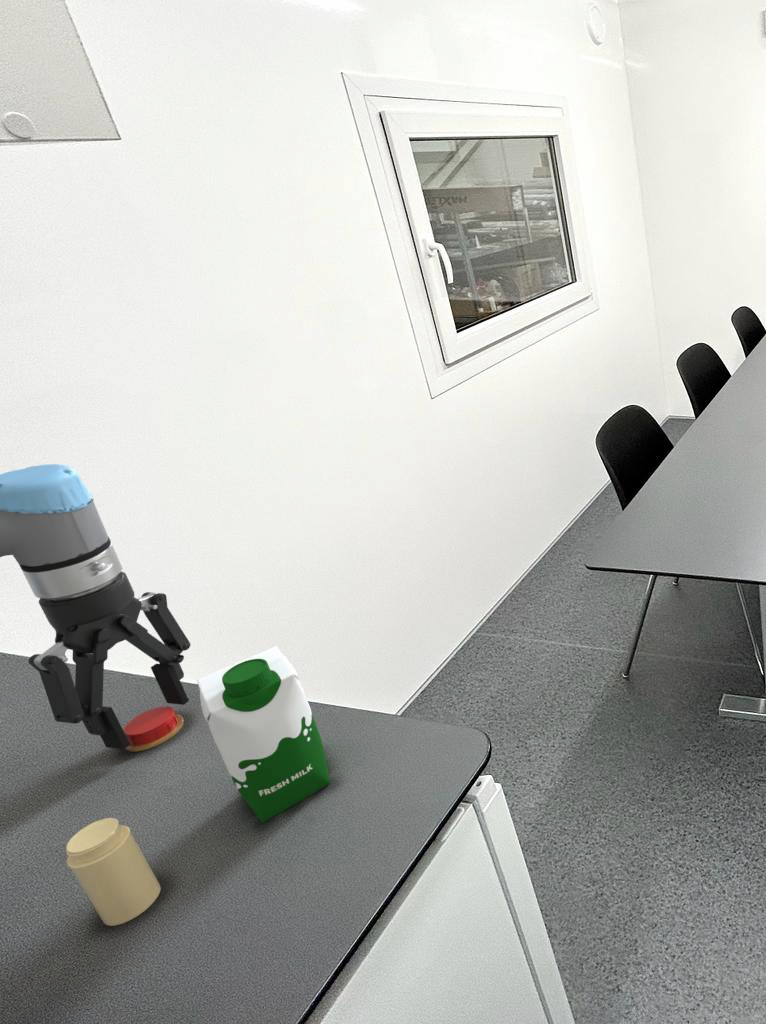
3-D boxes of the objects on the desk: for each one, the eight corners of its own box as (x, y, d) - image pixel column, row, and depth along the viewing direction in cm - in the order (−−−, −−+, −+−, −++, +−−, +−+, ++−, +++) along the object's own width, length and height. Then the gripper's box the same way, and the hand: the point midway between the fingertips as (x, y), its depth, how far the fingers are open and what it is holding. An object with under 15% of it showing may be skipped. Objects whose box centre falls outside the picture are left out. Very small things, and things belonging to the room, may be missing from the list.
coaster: (111, 752, 84) (109, 750, 84) (151, 717, 89) (150, 714, 89) (158, 750, 84) (156, 748, 84) (195, 715, 90) (194, 713, 90)
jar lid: (186, 721, 88) (182, 711, 88) (143, 749, 84) (138, 738, 83) (163, 713, 90) (158, 702, 89) (120, 740, 85) (114, 729, 84)
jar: (89, 927, 64) (45, 857, 60) (130, 882, 68) (91, 815, 65) (134, 924, 65) (93, 855, 61) (172, 880, 69) (136, 812, 65)
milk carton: (255, 833, 74) (197, 704, 66) (237, 789, 79) (181, 665, 72) (341, 782, 80) (297, 659, 73) (319, 744, 85) (276, 626, 78)
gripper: (4, 640, 68) (89, 790, 77) (189, 544, 87) (241, 673, 95) (-54, 634, 69) (36, 783, 77) (142, 540, 87) (197, 669, 96)
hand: (149, 722), depth 86 cm, fingers open, 7 cm apart
